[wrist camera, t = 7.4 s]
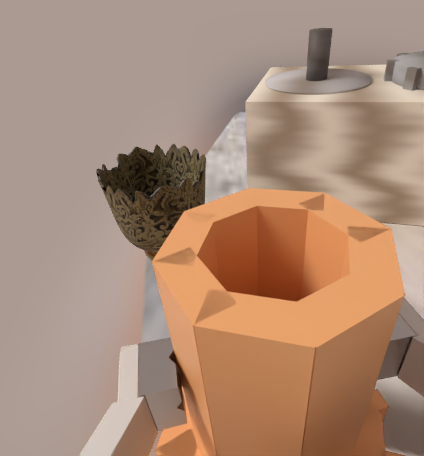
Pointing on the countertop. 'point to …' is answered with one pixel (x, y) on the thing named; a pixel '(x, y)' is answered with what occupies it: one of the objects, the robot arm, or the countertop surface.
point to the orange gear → (279, 325)
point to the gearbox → (342, 132)
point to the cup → (153, 192)
